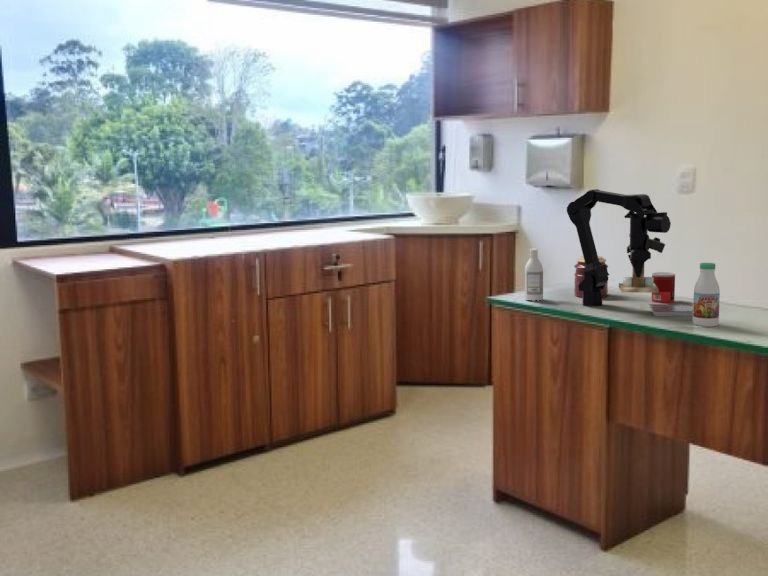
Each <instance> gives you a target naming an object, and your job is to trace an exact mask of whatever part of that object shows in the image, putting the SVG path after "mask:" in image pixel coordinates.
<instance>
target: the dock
mask: <svg viewBox="0 0 768 576" xmlns="http://www.w3.org/2000/svg"><path fill="white" fill-rule="evenodd" d="M648 309H649V310H650V312H651V313H652V315H653V316H654V317H657V316H659V317H693V308H692V307H691V306H690V305H689V304H682V303H681V304H679V303H678V304H673V303H657V304H656V303H655V304H654V303H652V304H651V303H650V304H648Z"/></svg>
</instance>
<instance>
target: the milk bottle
mask: <svg viewBox="0 0 768 576" xmlns="http://www.w3.org/2000/svg"><path fill="white" fill-rule="evenodd" d="M699 271H700V272H699V276H698V278H697V280H696V282H695V285H694V288H693V299H692V300H693V301H692V302H693V303H692V310H693V316H692V323H693V324H694V325H695V326H697V327H702V328H703V327H704V328H711V327H713V328H714V327H717V326H719V323H720V322H719V321H720V320H719V319H720V286H719V283H718V280H717V278H716V275H715V271H716V263H715V262H701V263H699Z"/></svg>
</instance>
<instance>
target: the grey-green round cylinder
mask: <svg viewBox="0 0 768 576" xmlns="http://www.w3.org/2000/svg"><path fill="white" fill-rule="evenodd" d="M644 287H653V277H652V276H644Z"/></svg>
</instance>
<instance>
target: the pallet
mask: <svg viewBox="0 0 768 576" xmlns="http://www.w3.org/2000/svg"><path fill="white" fill-rule="evenodd" d="M631 274H632V276H631V277H633V286H632V287H624V286H623V282H622V283H621V282H619V283H618V288H619V290H620V292H621V294H622V293H623V294H624V293H628V294H629V293H633V294H634V293H635V294H636V293H641V294H642V293H651V294H652V293H658V291H659V289H658V288H657V286H656V285H655V284H654V283H653V287H644V277H645V264H644V265H643V269H642V272H641V276H640V277H637V276H636V273H635V271H634V268H633V267H632V273H631Z"/></svg>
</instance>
